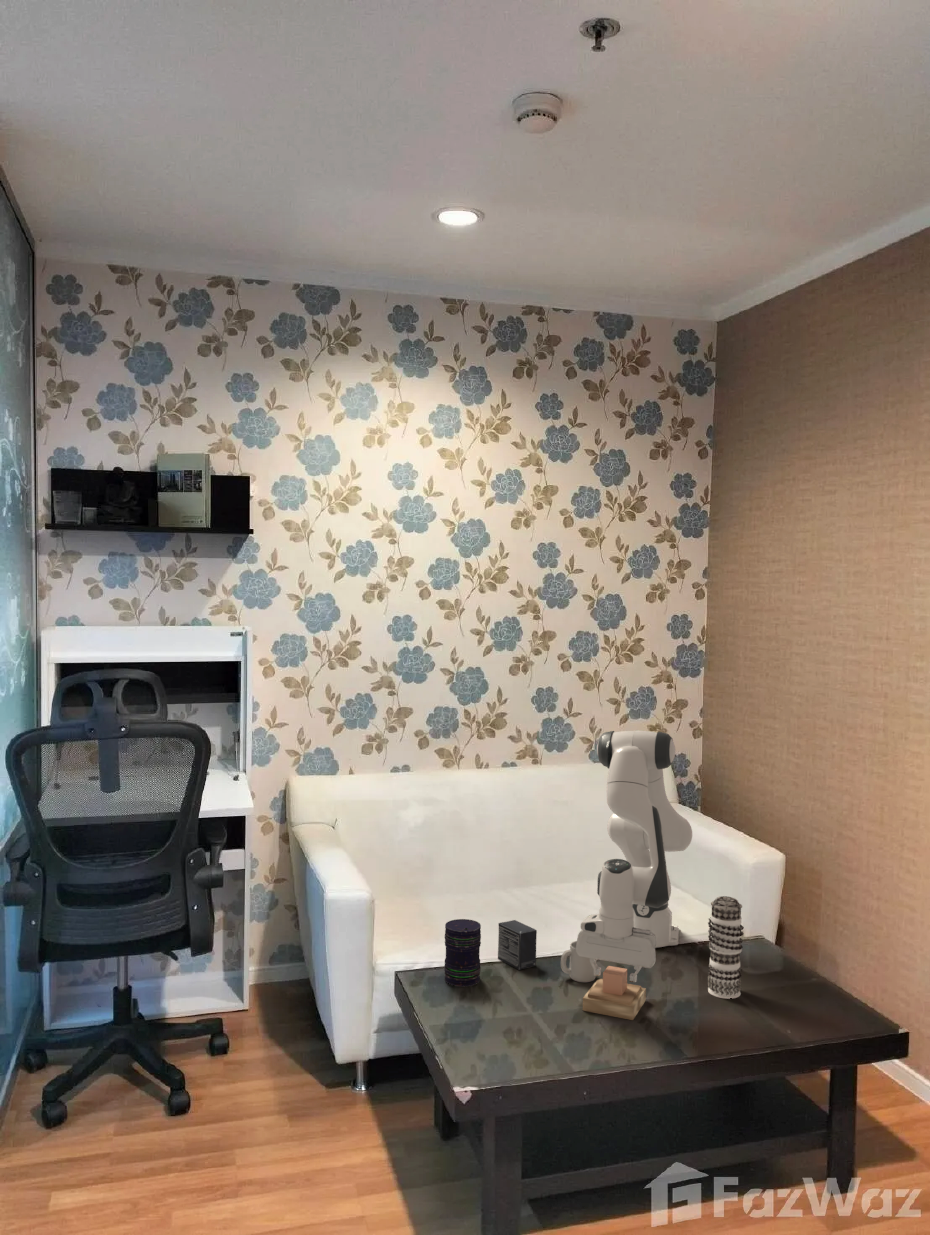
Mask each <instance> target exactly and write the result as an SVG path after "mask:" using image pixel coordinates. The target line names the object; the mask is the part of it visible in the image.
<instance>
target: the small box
mask: <svg viewBox="0 0 930 1235" xmlns="http://www.w3.org/2000/svg"><path fill="white" fill-rule="evenodd" d="M537 933H538V932H537V929H535V928H534V927H531V926H528V925H526V924H524V923H522V922H520V921H518V920H516V919H512V920H508V921H507V920H506V921H502V922H498V940H497V942H498V943H497V944H498V945H497V946H498V947H497V948H498V949H497V959H498V961H499V960H500V961H501V962H503V963H504V964H507V965H509V966H511V967H513V968H514V969H516V970H518V971H521V970H524V969H529V968H532V967H536V966H537V937H538V936H537Z"/></svg>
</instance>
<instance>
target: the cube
mask: <svg viewBox="0 0 930 1235" xmlns="http://www.w3.org/2000/svg"><path fill="white" fill-rule="evenodd" d="M602 979H603V992H606V993H612V994H617V995H622V994H623V993H624V992H625V990H626V989H627V984H628V968H624V967H623V968H622V967H618V966H612V965H608V966H606V968H605V969H604V970H603V972H602Z"/></svg>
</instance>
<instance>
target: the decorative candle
mask: <svg viewBox="0 0 930 1235" xmlns="http://www.w3.org/2000/svg"><path fill="white" fill-rule="evenodd" d="M710 906H711V914H710V918H708V922H707V925H708V927H709V928H708V931H707V932H708V935H707V937H708V940H709V943H708V948H709V950H710V957H709V964H707V966H708V970H707V972H708V976H707V986H708V987H707V991H708V993H709V994H710V995H712V996H713V997H715V998H720V999H726V1000H727V999H728V1000H731V999H730V998H732V999H736V998H739V997H740V996H741V994H742V993H741V990H742V987H741V984H742V981H741V977H742V973H741V971H742V967H741V960H740V958H741V955H740V954H741V952H743V947H744V946H743V945H742V943H743V938H741V937H743V936H744V932H743V930H744V926H743V925H742V916H741V915H742V908H743V905H742V904H741V903H740V902H739V900H738V899H736V898H735V897H731V896H725V895H724V896H718V897H716V898H715V899H714V900H713V901H711V902H710Z"/></svg>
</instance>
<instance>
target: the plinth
mask: <svg viewBox="0 0 930 1235" xmlns="http://www.w3.org/2000/svg"><path fill="white" fill-rule="evenodd" d="M646 1001H647V988H645V987H642V985H639V984H638V985H637V984H632V983H627V989H626V990H625V992H624V993H623V994H622V995H617V994H612V993H606V992H603V978H599V979H597V980H596V981H595V982H594V983H593V984H592V986H591V987H590V988H589V989H588V991H587V992H586V993H585V994H584V996H583V997H582V1011H584V1012H587V1013H593V1014H594V1013H595V1014H599V1015H604V1016H609V1017H615V1018H619V1019H625V1020H630V1021H634V1019H635V1018H636V1016H637V1015H638V1014H639V1012H640V1011H641V1009H642V1007H643V1006H644V1004H645V1002H646Z"/></svg>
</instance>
